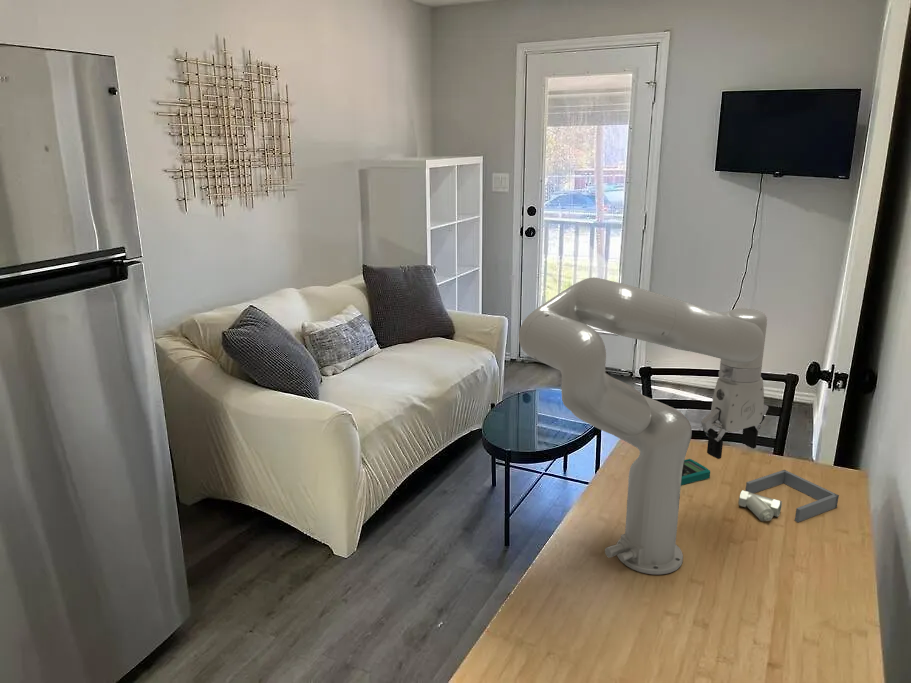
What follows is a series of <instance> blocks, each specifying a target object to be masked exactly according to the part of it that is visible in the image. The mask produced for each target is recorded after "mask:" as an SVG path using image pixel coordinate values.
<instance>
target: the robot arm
mask: <svg viewBox="0 0 911 683" xmlns="http://www.w3.org/2000/svg"><path fill="white" fill-rule="evenodd" d="M767 318H768V317H767V315H766V314H765V313H764V312H763V311H761V310H758V309H754V308H753V309H752V308H742V307H741V308H734V309H731V310H729V311H713V310H709V309H707V308H704V307H701V306H699V305H696V304H693V303H690V302H687V301H684V300H680V299H678V298H675V297H672V296H667V295H665V294H664V295H663V294H661V293H657V292H653V291H649V290H646V289H643V288H640V287H636V286H633V285H629V284H624V283H621V282H616V281H613V280H610V279H609V280H608V279H605V278H599V277H589V278H584V279H582V280H580V281H578V282H576V283H574V284H572V285H570V286H569V287H567V288H565V289H564V290H563V291H561V292H559V293H558V294H557V295H555V296H554V297H552V298H551V299H549V300H547V301H545V302H544V303H543V304H542V305H540V306H539V307H537V308H536V309H534V310H533V311H532V312H530V313H529V314H528V315H527V316H526V317H525V319H523V322H522V324H521V325H520V328H519V330H518V331H519V332H518V341H519V342H518V343H519V346H520V347H521V349H522V350H523V352H524V353H525V354H526V355H528V356H529V357H530V358H532V359H534V360H536V361H538V362H540V363H541V364H545V365H547V366H549V367H551V368H553V369H556V370H558V371H560V373H561V388H560V390H561V402H562V403H563V405H564V406H565V408H566V409H568V410H569V411H570V412H571V413H572V415H574V417H576V418H577V419H579V420H582V422H585V423H587V424H589V425H591V426H592V427H594V428H596V429H598V430H600V431H603V432H605V433H606V434H610V435H612V436H613V437H616V438H618V439H620V440H622V441H624V442H626V443H627V444H628V445H632V446H633V447H634V448H636V449H637V450H638V451H639V455H638V457H637V458H636V459H635V460H634V461H633V463H632V464H631V466H630V467H629V471H628V480H627V481H628V482H627V483H628V484H627V485H628V486H627V487H628V488H627V497H626V498H627V500H626V514H625V530H624V533H623V534H620V538H619V539H618V541H617V542H616V544H615V545H614V544H613V545H611V546H607V547H605V549H604V553H605V556H606V557H607V558H609V559H610V558H613V557H615V556H616V557H617V558H618V560H620V562H621V563H622V564H624V565H625V566H626V567H628V568H629V569H632V570H634V571H637V572H638V573H642V574H649V575H666V574H670V573H673V572H676V571H677V570H679V568H681V566H682V564H683V559H684V555H683V552H682V549H681V548H680V547H679V546H678V545H677V541H676V540H677V534H678V532H677V531H678V520H679V512H680V511H679V509H680V496H681V489H682V488H681V487H682V485H681V478H682V470H684V469H683V464H684V460H686V457H687V453H688V449H689V446H690V443H691V439H692V435H693V434H692V432H693V431H692V425H691V423H690V421H689V419H688V417H687V416H685V414H684V413H682V412H681V411H679V410H678V409H676V408H674V407H673V406H669V405H668V404H667V403H666V404H665V403H663V402H660V401H658V400H656V399H653V398H651V397H648V396H645V395H643V394H642V393H641V391H639V390H637V389H636V388H635V387H633V386H632V385H630V384H628V383H626V382H624V381H621V380H619V379H617V378H614V377H612V376H611V375H609V374H608V373H607V372H606V362H607V349H606V346H605V343H604V340H603V338H602V337H601V335H600V334H599V333H598V332H597V331H596V330H595V329H594V328H596V329H599V330H600V331H601V330H602V331H604V332H607V333H609V334H613V335H616V336H617V335H618V336H621V337H625V338H630V339H634V340H639V341H643V342H648V343H652V344H655V345H658V346H663V347H668V348H671V349H674V350H679V351H685V352H690V353H691V352H692V353H695V354H701V355H705V356H709V357H711V358H712V357H713V358H716V359H719V360H720V362H719V371H718V378H717V380H716V383H715V387H714V391H713V396H712V401H711V409H710V410H711V411H710V413H709V414H707V415H706V416H705V417H704V418H703V419H701V421H700V423H701V426H702V430H703V432H704V434H705V436H706V437H707V438H708V440H707V447H706V453H707V455H710V456H711V457H713V458H716V459H717V460H721V458H722V454H723V447H724V444H723V443H724V441H723V439H722V438H723V436H724V435H725V434H726V432H729V433H732V432H733V433H734V432H737V431H741V430H742V436H741V444H742V445H744V446H747V447H749V448H751V449H756V448H757V445H758V444H757V443H758V437H759V436H758V434H759V430H760V429H761V428H762V425H761V424H762V423H763V421H764V420H765V418H766V417H765V416H766V414H767V412H768V410H769V406H768V404H767V405H766V404H764V403H765V399H764V398H765V388H764V379H763V378H762V369H763V359H764V352H765V342H766V333H767V326H768V319H767ZM717 429H719V430H718V432H716V430H717Z"/></svg>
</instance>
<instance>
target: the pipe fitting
mask: <svg viewBox="0 0 911 683" xmlns="http://www.w3.org/2000/svg"><path fill="white" fill-rule="evenodd" d="M738 506H740V507H744V508H747V509H749V510H750V511H751V512H752V513H753V514H754V515H755V516H756V517H757V519H758V520H759V521H761V522H769V521H772V519H773V517H779V516H780V513H781V510H782V506H783V501H782V500H779V499H775V498H771V497H767V496H763V495H760V494H757V493H751V492H748V491H745V490H744V489H742V490H741V491H740V494H739V497H738Z"/></svg>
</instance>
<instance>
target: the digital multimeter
mask: <svg viewBox="0 0 911 683" xmlns="http://www.w3.org/2000/svg"><path fill="white" fill-rule="evenodd" d="M710 478H711V470H709V468H707V467H705V465H702V464H701V463H699V462H698V461H696V460H694V459H692V458H687V459H685V460H684V464H683V470H682V478H681V486H685V485H688V484H691V483H696V482H699V481H700V482H701V481H704V480H708V479H710Z"/></svg>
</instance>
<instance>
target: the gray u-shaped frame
mask: <svg viewBox="0 0 911 683" xmlns="http://www.w3.org/2000/svg"><path fill="white" fill-rule="evenodd" d="M782 484H785V485H786V486H789V487H790V488H792V489H795V490H796V491H798V492H800V493H802V494H805V495H806V496H808V497H811V498H813V499H815V500H814V501H812V502H809V503H807V504H804V505H801V506H798V507H796V509H795V515H794V521H795V522H796V523H800V522H803V521H805V520H808V519H811V518H813V517H816V516H818V515H820V514H823V513H827V512H829V511H831V510H833V509H836V508H838V502H839V498H840V497H839V496H840V494H837V493H835V492H833V491H831V490H829V489H826V488H824V487H822V486H821V485H819V484H816V483H814V482H812V481H810V480H808V479H806V478H803V477H802V476H799V475H797V474H795V473H792V472H790V471H788V470H786V469H782V470H779V471H777V472H773V473H771V474H768V475H763V476H761V477H759V478H758V477H757V478H755V479H752V480H749V481H746V483H745V490H744V491H748V492H751V493H754V494H757V493H759V492H763V491H765V490H767V489H771V488H774V487H777V486H779V485H782Z"/></svg>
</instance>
